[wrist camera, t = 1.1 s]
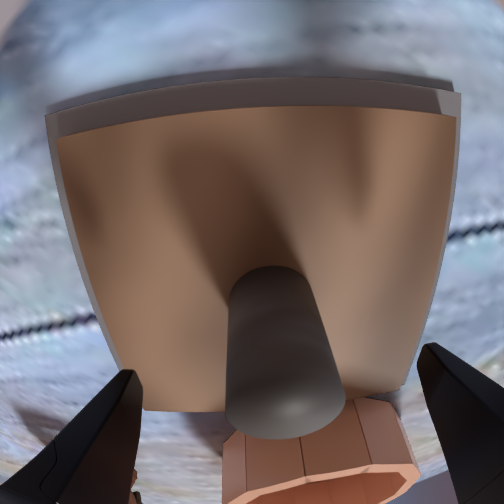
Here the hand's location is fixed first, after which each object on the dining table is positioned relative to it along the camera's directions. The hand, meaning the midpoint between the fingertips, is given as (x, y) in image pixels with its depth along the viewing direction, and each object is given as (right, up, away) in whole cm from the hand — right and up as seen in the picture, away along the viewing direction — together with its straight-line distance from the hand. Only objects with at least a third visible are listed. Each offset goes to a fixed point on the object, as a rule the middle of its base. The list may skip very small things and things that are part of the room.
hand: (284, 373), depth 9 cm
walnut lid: (0, +2, +4) cm, 5 cm away
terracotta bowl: (+4, -11, +11) cm, 16 cm away
